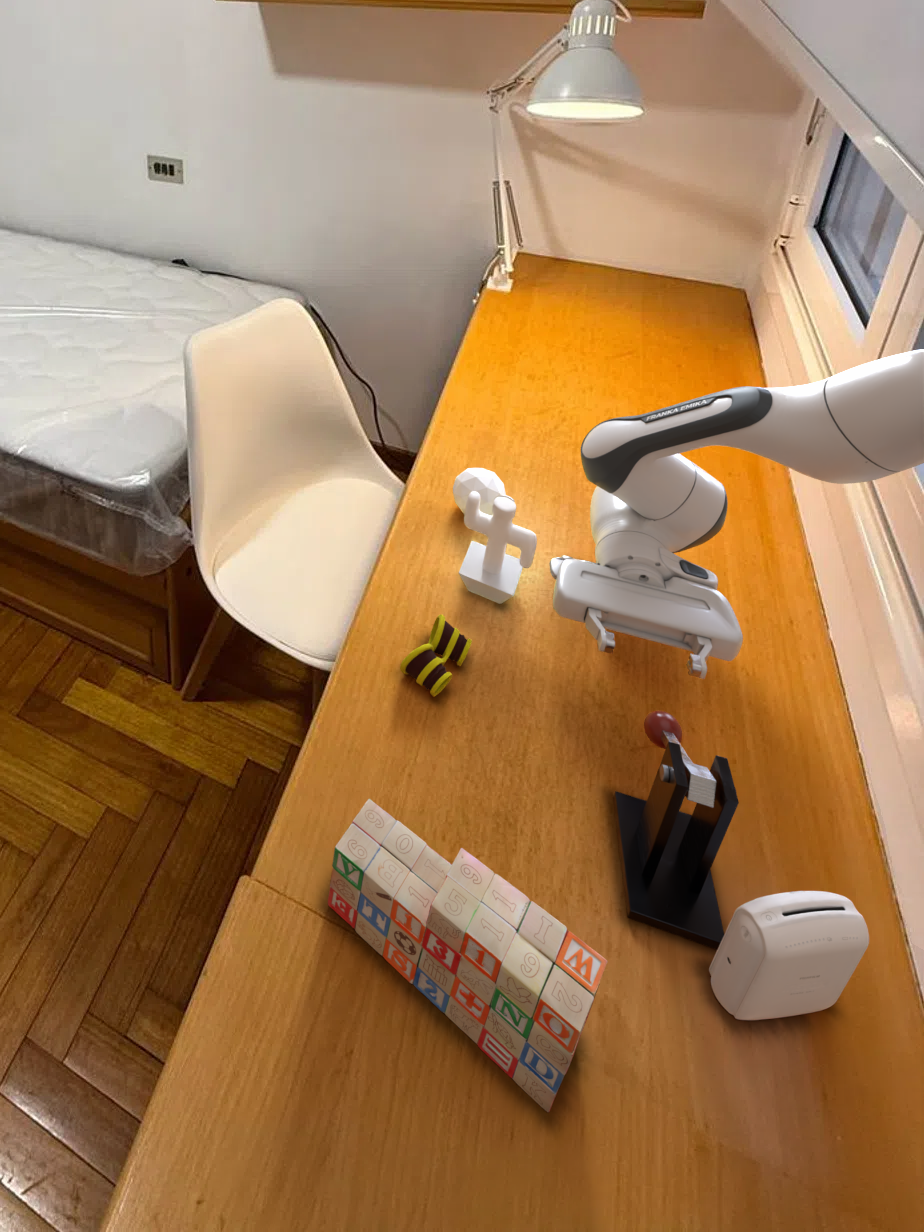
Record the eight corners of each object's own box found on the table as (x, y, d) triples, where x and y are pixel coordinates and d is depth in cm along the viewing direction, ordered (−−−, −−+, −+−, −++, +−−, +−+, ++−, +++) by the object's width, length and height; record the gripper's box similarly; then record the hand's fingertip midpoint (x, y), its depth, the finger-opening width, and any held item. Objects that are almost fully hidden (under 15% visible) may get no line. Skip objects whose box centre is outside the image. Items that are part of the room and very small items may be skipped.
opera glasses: (431, 708, 100) (445, 685, 97) (394, 676, 103) (406, 652, 100) (467, 658, 107) (481, 634, 104) (431, 628, 109) (443, 605, 107)
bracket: (612, 797, 90) (644, 701, 84) (696, 824, 87) (735, 727, 81) (627, 918, 79) (665, 818, 74) (723, 952, 77) (770, 851, 71)
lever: (638, 734, 92) (642, 700, 92) (675, 745, 91) (679, 711, 91) (677, 804, 77) (682, 763, 78) (722, 818, 76) (726, 777, 77)
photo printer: (731, 1028, 72) (773, 945, 67) (697, 968, 76) (735, 886, 71) (841, 1015, 73) (890, 931, 68) (802, 956, 77) (846, 873, 72)
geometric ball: (458, 525, 131) (433, 481, 131) (496, 496, 133) (471, 453, 133) (487, 536, 124) (460, 490, 124) (526, 505, 126) (500, 460, 126)
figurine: (517, 619, 111) (538, 532, 105) (446, 589, 116) (462, 504, 110) (528, 584, 117) (548, 499, 111) (460, 556, 121) (476, 473, 116)
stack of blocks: (324, 906, 80) (336, 824, 75) (359, 855, 84) (372, 774, 79) (550, 1116, 67) (581, 1033, 62) (578, 1042, 71) (610, 959, 66)
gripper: (553, 534, 110) (560, 615, 98) (730, 576, 104) (761, 668, 92) (544, 570, 112) (549, 653, 101) (716, 614, 106) (744, 708, 94)
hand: (652, 661), depth 96 cm, fingers open, 8 cm apart
